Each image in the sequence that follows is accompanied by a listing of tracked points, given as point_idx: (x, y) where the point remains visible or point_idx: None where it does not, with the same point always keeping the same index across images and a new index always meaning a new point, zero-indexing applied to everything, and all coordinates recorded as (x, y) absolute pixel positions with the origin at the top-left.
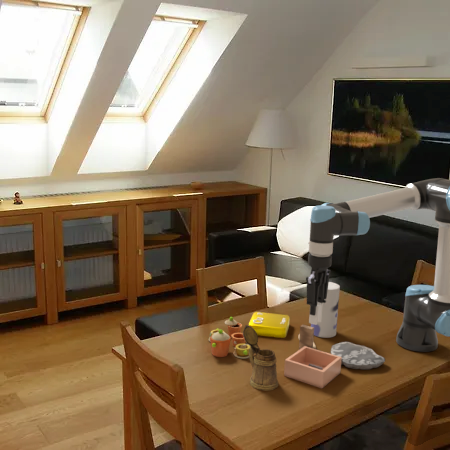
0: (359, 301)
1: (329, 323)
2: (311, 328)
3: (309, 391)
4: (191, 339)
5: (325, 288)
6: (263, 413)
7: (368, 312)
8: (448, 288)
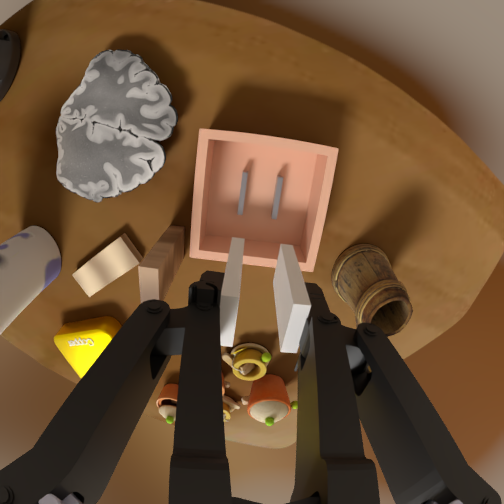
0: None
1: (28, 249)
2: (151, 271)
3: (348, 171)
4: (241, 425)
5: (133, 375)
6: (454, 230)
7: None
8: None
